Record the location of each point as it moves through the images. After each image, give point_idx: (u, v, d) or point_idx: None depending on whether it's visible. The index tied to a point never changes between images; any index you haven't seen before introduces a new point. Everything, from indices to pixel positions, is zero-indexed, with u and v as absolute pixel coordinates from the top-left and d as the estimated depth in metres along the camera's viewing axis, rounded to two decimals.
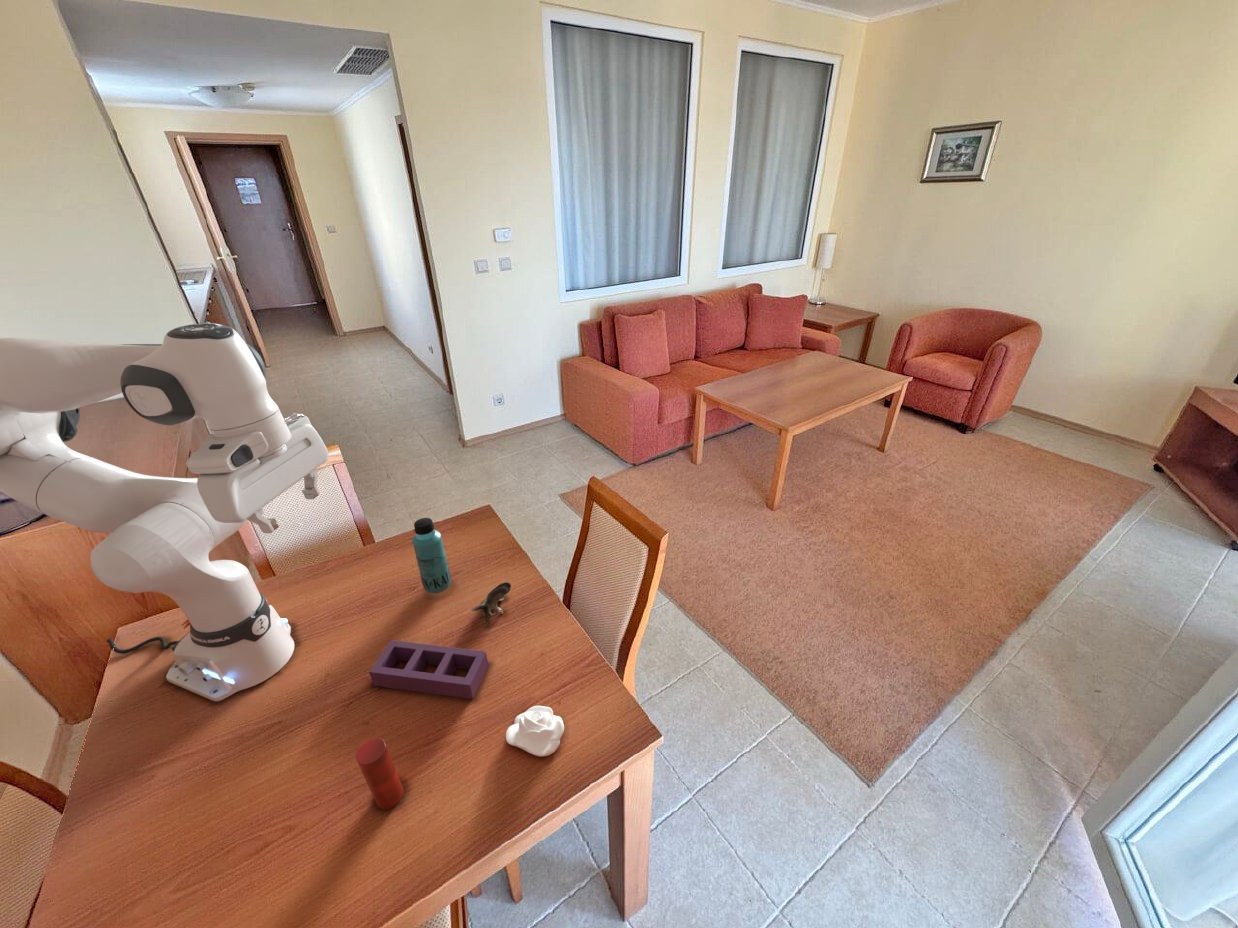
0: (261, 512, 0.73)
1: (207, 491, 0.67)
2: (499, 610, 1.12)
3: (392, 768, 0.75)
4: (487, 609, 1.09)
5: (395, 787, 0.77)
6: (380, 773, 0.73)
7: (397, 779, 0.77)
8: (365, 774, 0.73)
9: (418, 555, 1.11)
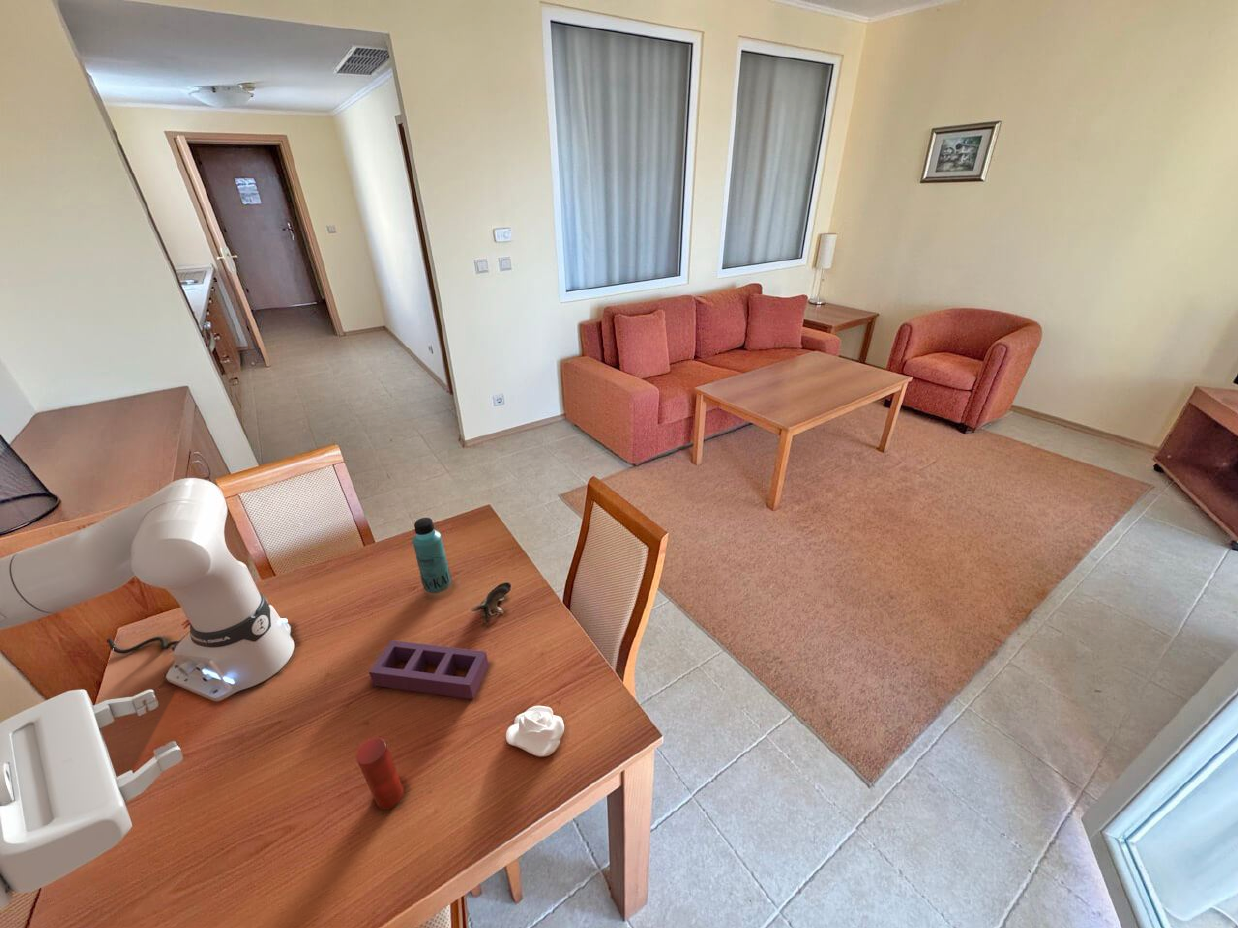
0: (127, 774, 0.47)
1: (42, 873, 0.41)
2: (499, 610, 1.12)
3: (392, 768, 0.75)
4: (487, 609, 1.09)
5: (395, 787, 0.77)
6: (380, 773, 0.73)
7: (397, 779, 0.77)
8: (365, 774, 0.73)
9: (418, 555, 1.11)
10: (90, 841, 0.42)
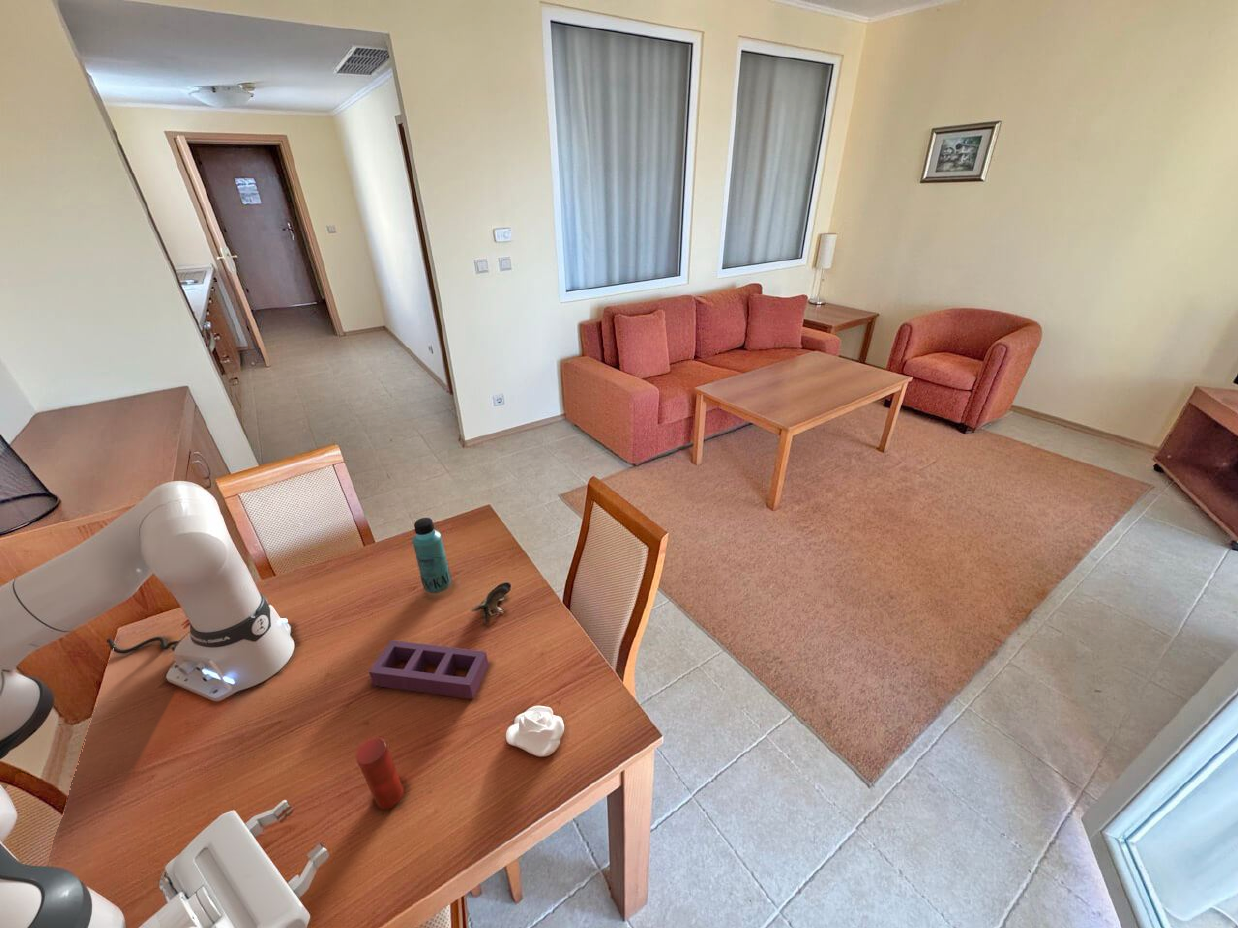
0: (295, 878, 0.61)
1: None
2: (499, 610, 1.12)
3: (392, 768, 0.75)
4: (487, 609, 1.09)
5: (395, 787, 0.77)
6: (380, 773, 0.73)
7: (397, 779, 0.77)
8: (365, 774, 0.73)
9: (418, 555, 1.11)
10: None
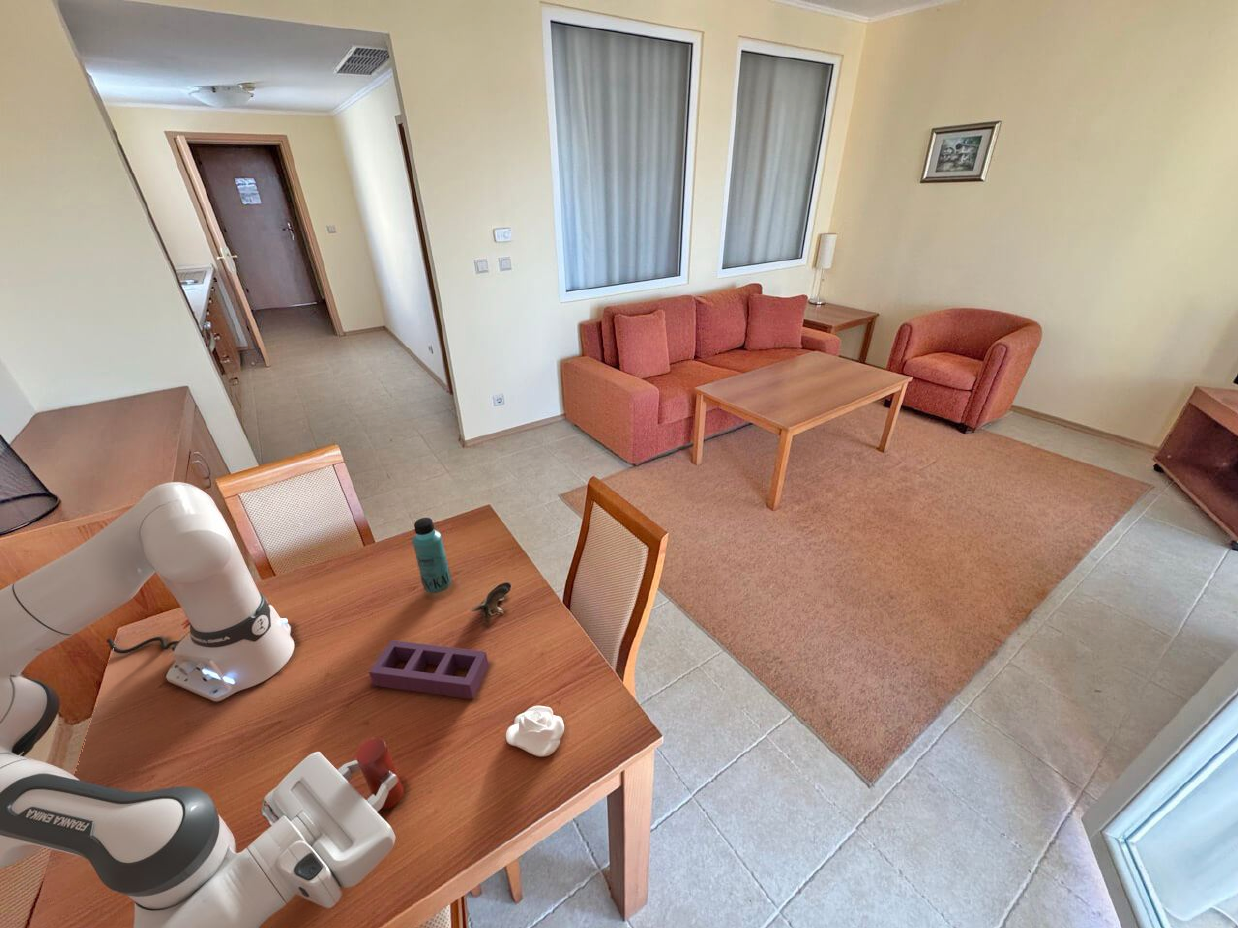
0: (372, 797, 0.71)
1: (359, 874, 0.64)
2: (499, 610, 1.12)
3: (392, 768, 0.75)
4: (487, 609, 1.09)
5: (395, 787, 0.77)
6: (380, 773, 0.73)
7: None
8: (365, 774, 0.73)
9: (418, 555, 1.11)
10: (380, 851, 0.66)
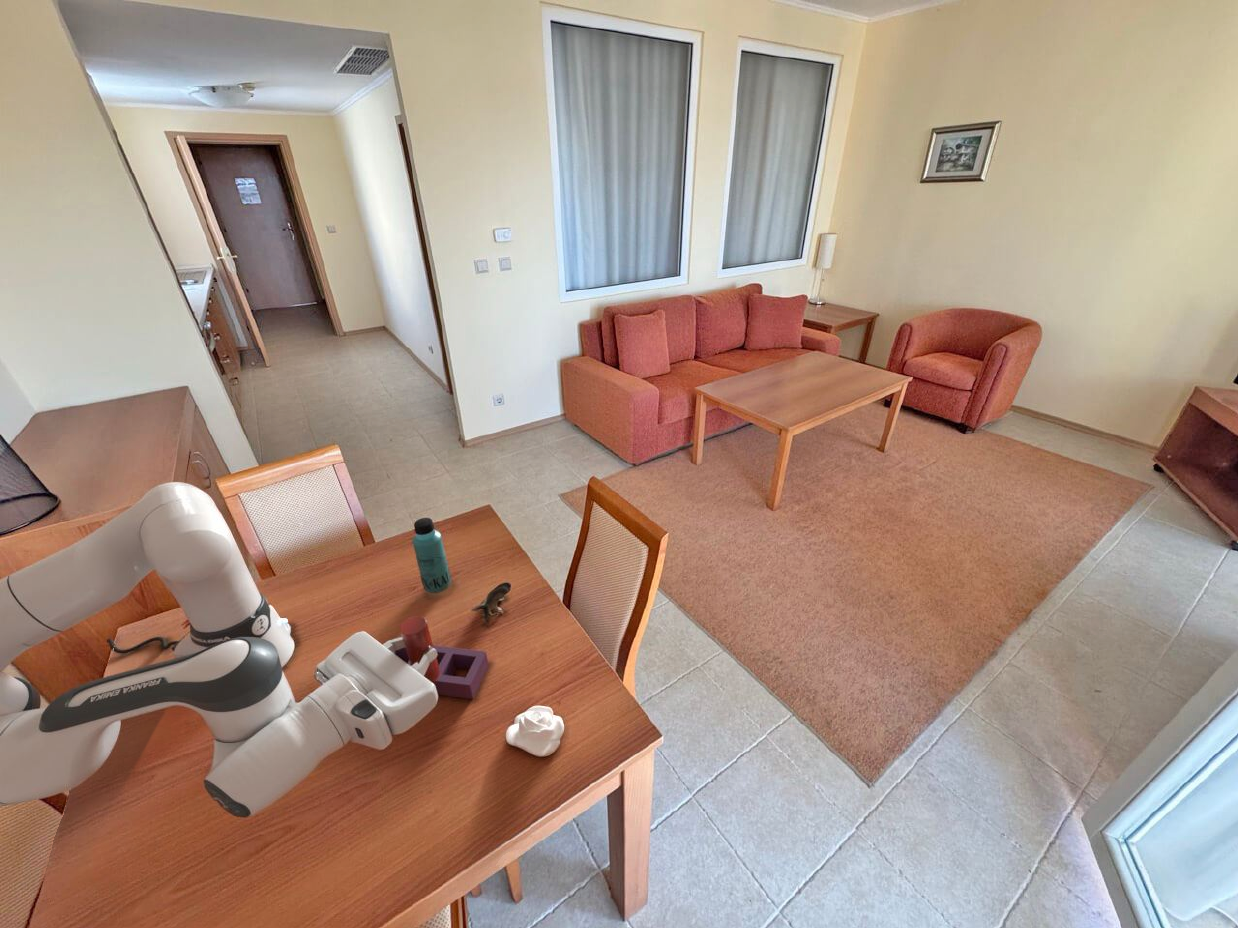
0: (415, 664, 0.78)
1: (408, 722, 0.71)
2: (499, 610, 1.12)
3: (432, 645, 0.82)
4: (487, 609, 1.09)
5: (434, 665, 0.83)
6: (421, 646, 0.80)
7: (435, 658, 0.84)
8: (408, 646, 0.79)
9: (418, 555, 1.11)
10: (425, 704, 0.72)
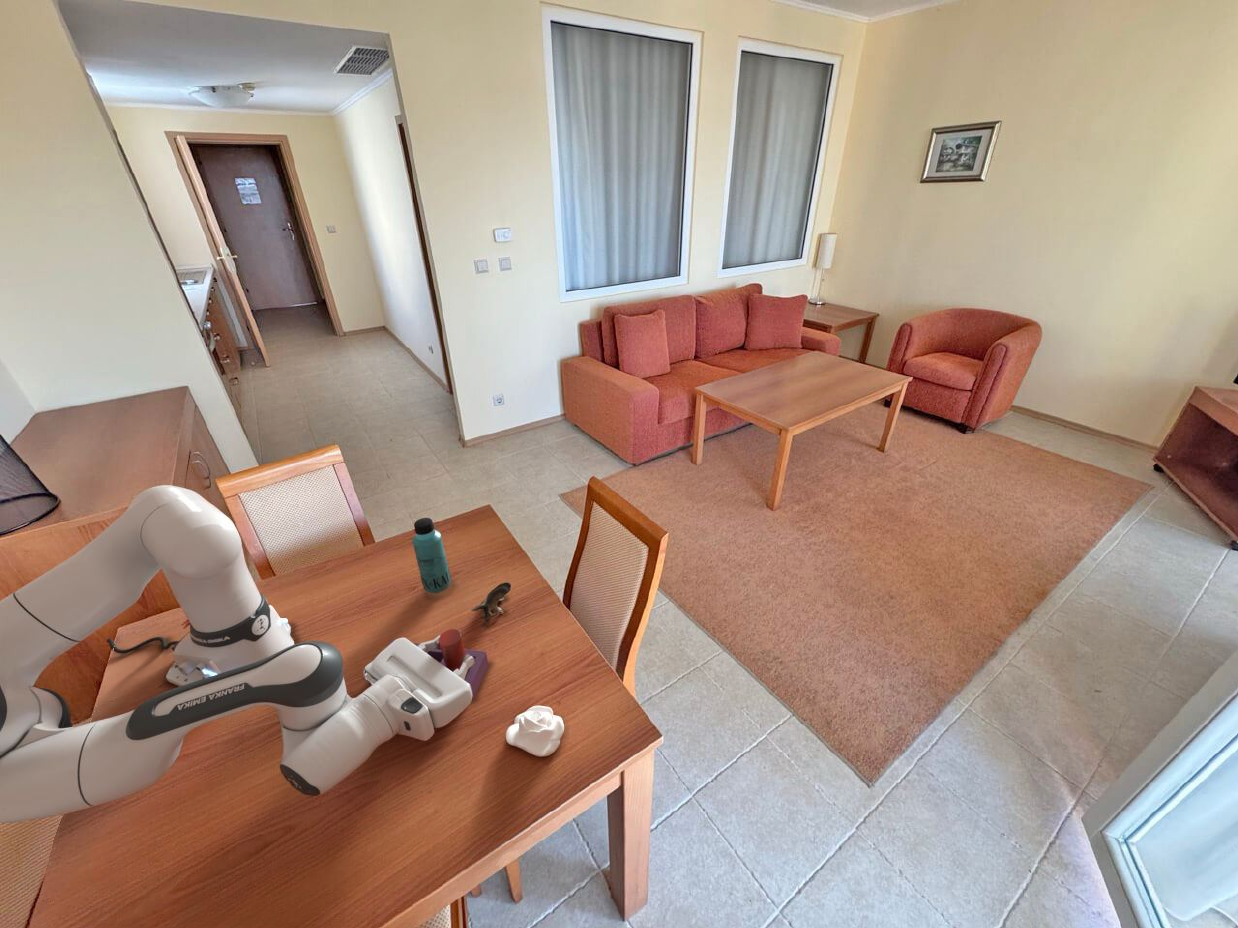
0: (456, 670, 0.88)
1: (448, 716, 0.82)
2: (499, 610, 1.12)
3: (465, 654, 0.94)
4: (487, 609, 1.09)
5: None
6: (457, 655, 0.92)
7: None
8: (445, 655, 0.91)
9: (418, 555, 1.11)
10: (462, 701, 0.84)
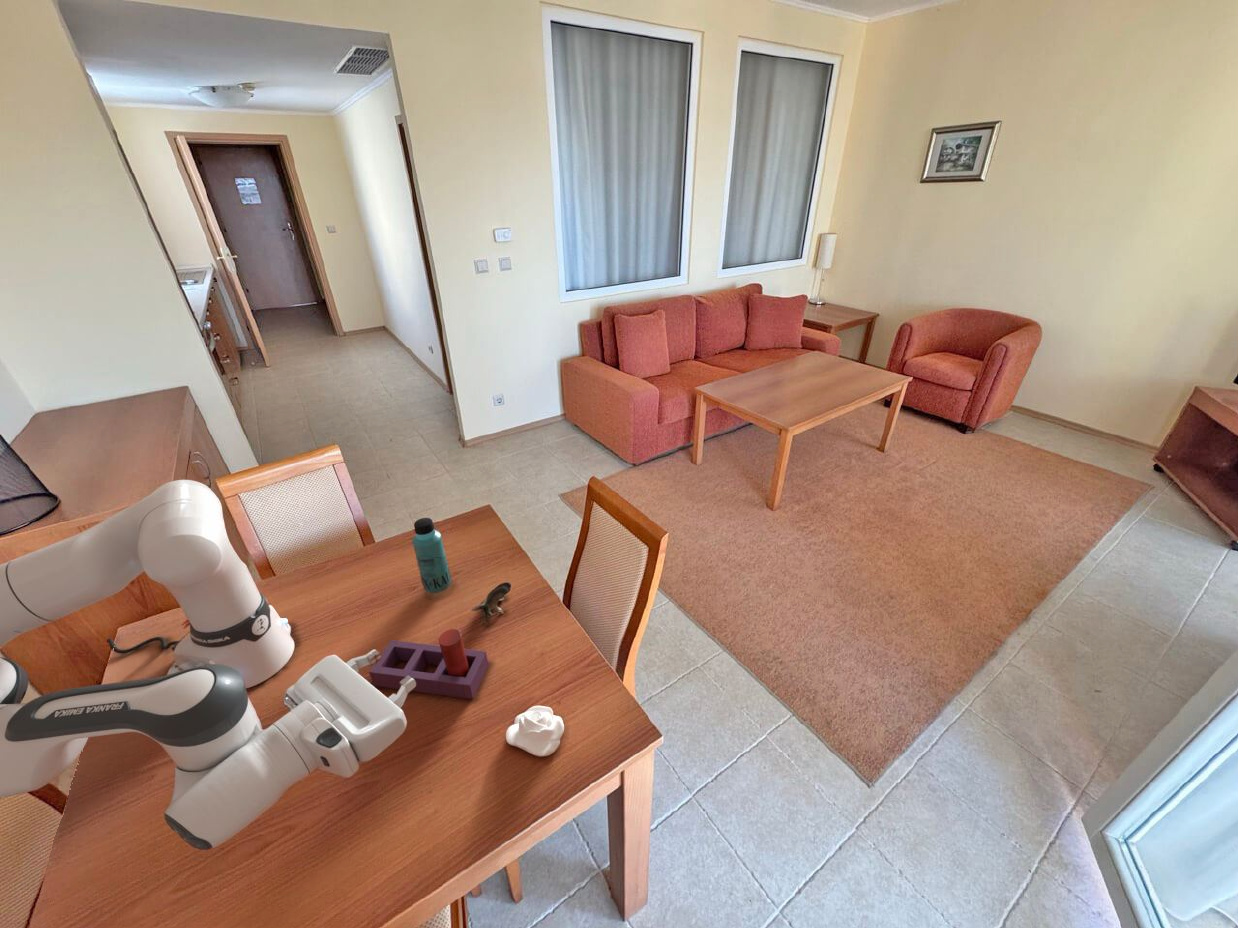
0: (393, 695, 0.76)
1: (374, 749, 0.71)
2: (499, 610, 1.12)
3: (465, 654, 0.94)
4: (487, 609, 1.09)
5: (466, 671, 0.95)
6: (457, 655, 0.92)
7: None
8: (445, 655, 0.91)
9: (418, 555, 1.11)
10: (393, 730, 0.72)
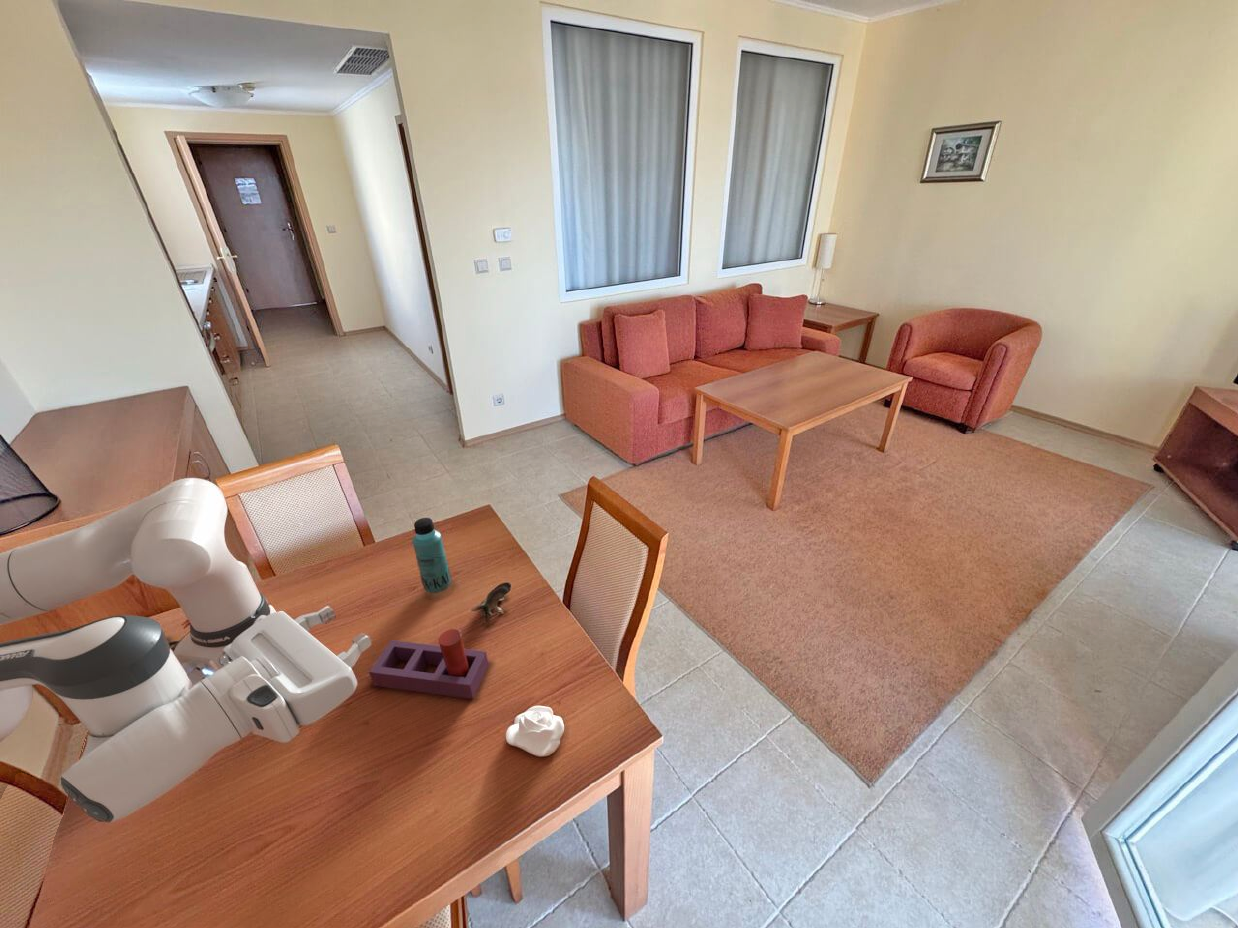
0: (343, 653, 0.67)
1: (317, 711, 0.62)
2: (499, 610, 1.12)
3: (465, 654, 0.94)
4: (487, 609, 1.09)
5: (466, 671, 0.95)
6: (457, 655, 0.92)
7: None
8: (445, 655, 0.91)
9: (418, 555, 1.11)
10: (339, 690, 0.63)
